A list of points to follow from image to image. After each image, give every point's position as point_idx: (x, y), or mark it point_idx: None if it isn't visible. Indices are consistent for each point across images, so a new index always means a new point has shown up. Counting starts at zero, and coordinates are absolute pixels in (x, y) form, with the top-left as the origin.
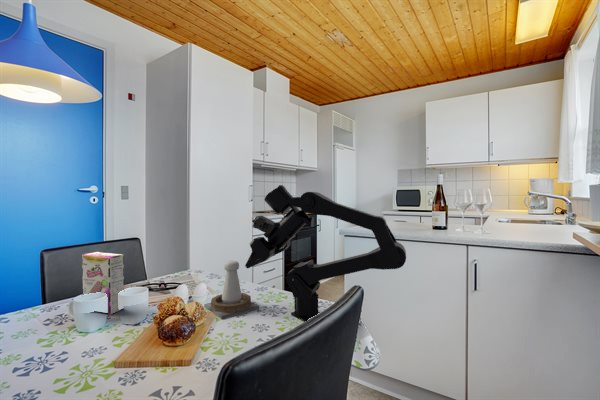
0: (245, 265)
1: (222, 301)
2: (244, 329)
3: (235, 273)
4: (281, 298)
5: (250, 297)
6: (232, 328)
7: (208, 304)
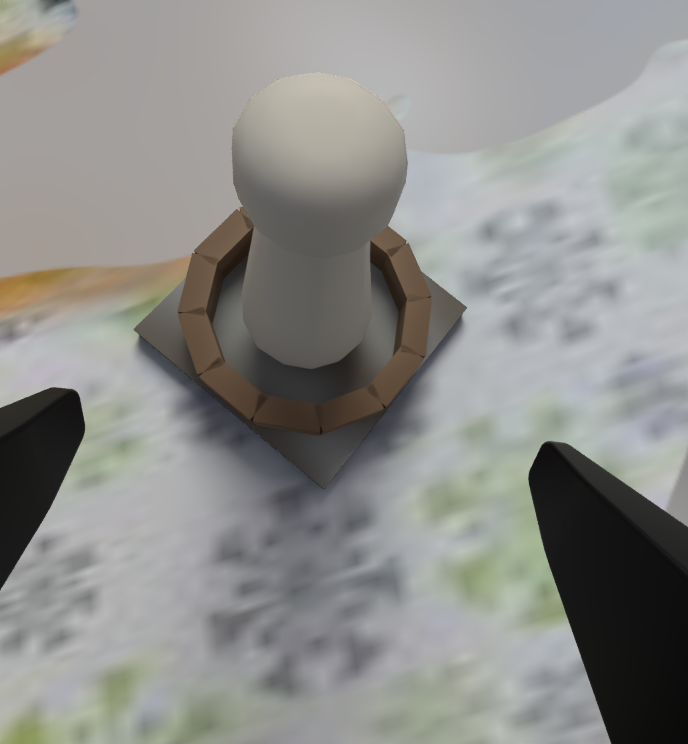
0: (47, 394)
1: None
2: None
3: (293, 256)
4: (519, 585)
5: (356, 418)
6: None
7: None
